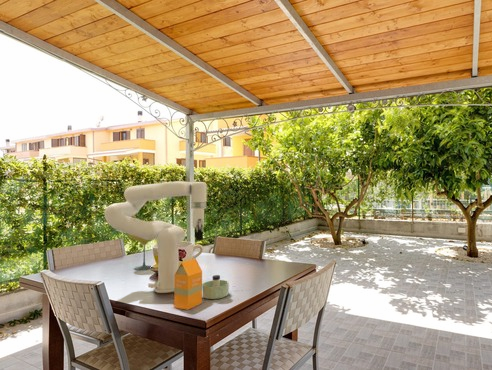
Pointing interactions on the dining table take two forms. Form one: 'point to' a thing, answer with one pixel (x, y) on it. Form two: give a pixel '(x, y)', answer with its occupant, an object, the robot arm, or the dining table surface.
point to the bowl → (215, 290)
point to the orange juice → (188, 285)
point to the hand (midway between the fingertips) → (198, 238)
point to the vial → (216, 280)
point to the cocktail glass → (144, 242)
